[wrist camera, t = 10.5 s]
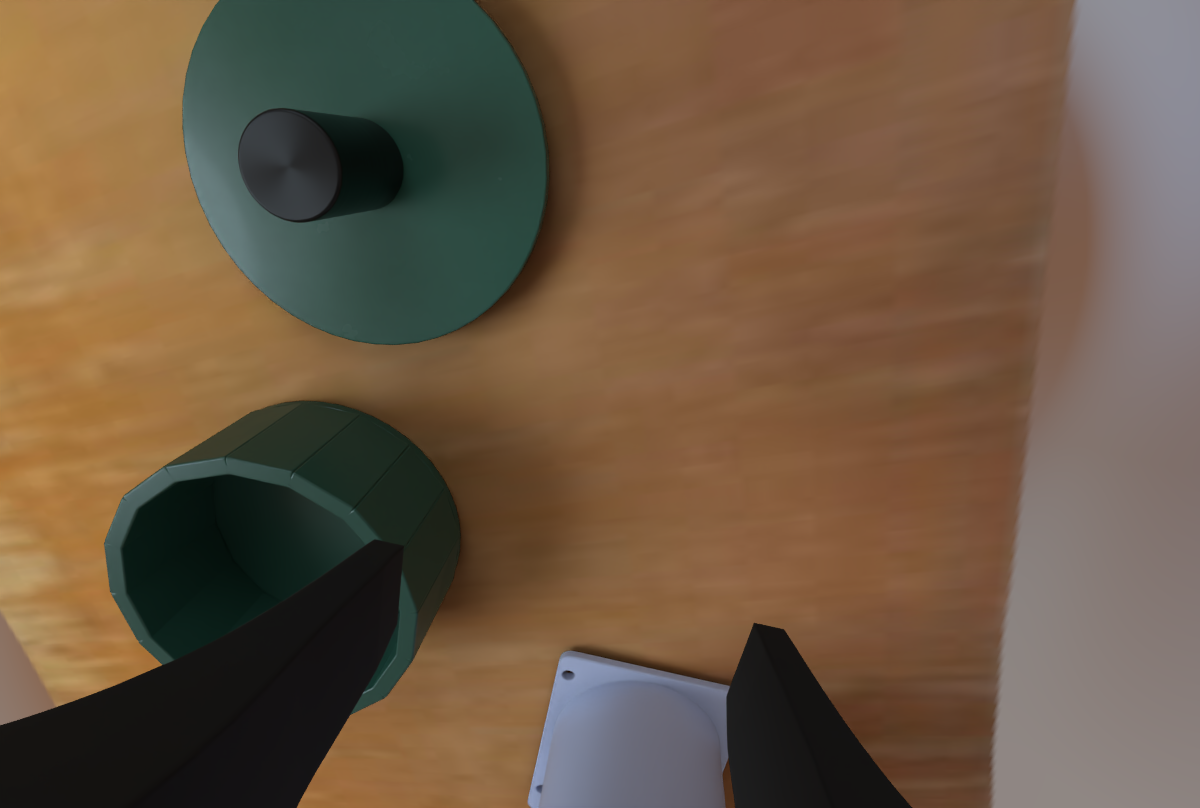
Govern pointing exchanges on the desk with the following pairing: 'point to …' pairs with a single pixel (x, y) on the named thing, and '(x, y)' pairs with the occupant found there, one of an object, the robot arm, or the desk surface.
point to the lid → (367, 159)
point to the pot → (280, 529)
